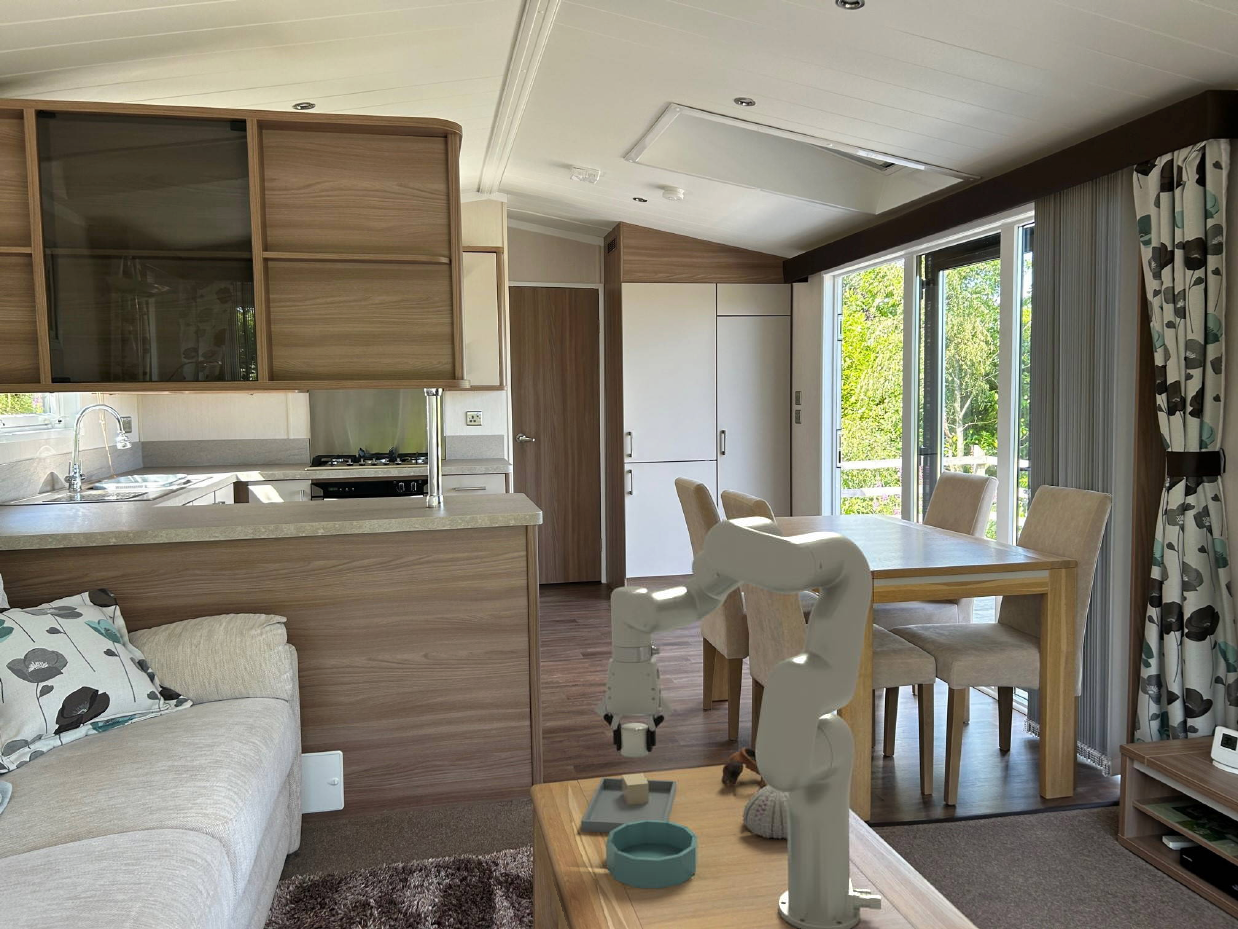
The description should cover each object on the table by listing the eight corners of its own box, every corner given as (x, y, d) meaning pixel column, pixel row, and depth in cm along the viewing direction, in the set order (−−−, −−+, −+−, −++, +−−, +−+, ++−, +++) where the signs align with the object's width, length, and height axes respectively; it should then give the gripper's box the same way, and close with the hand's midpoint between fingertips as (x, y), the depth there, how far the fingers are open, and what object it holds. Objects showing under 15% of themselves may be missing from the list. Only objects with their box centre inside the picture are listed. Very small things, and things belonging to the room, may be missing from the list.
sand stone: (642, 792, 190) (642, 773, 190) (648, 802, 184) (648, 783, 184) (622, 794, 189) (622, 775, 189) (627, 804, 184) (627, 785, 184)
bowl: (700, 848, 165) (699, 822, 165) (693, 891, 150) (692, 862, 149) (615, 843, 168) (615, 818, 167) (600, 885, 152) (600, 857, 152)
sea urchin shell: (728, 829, 173) (727, 787, 173) (773, 809, 182) (773, 769, 182) (783, 852, 163) (782, 808, 163) (828, 830, 172) (827, 788, 172)
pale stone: (650, 748, 172) (649, 723, 172) (646, 757, 167) (645, 732, 167) (623, 747, 173) (623, 722, 173) (619, 757, 168) (618, 731, 168)
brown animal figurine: (732, 772, 203) (750, 742, 202) (762, 801, 197) (782, 770, 196) (703, 775, 194) (723, 743, 193) (735, 805, 188) (755, 773, 187)
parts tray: (676, 792, 191) (676, 780, 191) (664, 838, 169) (664, 825, 169) (602, 789, 194) (602, 777, 193) (581, 834, 172) (581, 821, 172)
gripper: (679, 649, 172) (682, 744, 172) (591, 648, 175) (594, 741, 175) (675, 658, 164) (677, 757, 165) (583, 657, 167) (586, 754, 168)
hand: (634, 748), depth 170 cm, fingers closed on pale stone, 5 cm apart
